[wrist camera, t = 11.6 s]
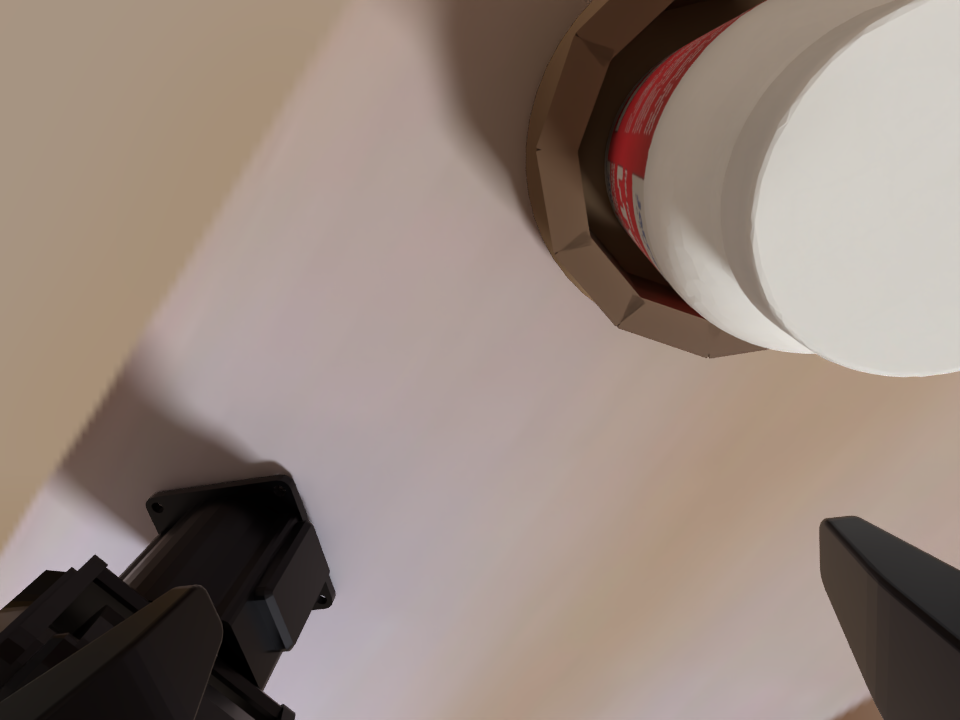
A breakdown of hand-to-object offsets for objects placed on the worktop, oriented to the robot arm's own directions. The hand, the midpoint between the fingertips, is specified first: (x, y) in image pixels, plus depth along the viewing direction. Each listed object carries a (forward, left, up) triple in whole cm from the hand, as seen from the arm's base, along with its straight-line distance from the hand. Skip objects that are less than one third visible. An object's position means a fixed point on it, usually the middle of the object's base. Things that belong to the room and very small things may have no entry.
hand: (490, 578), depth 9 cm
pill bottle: (+6, +4, -12) cm, 14 cm away
